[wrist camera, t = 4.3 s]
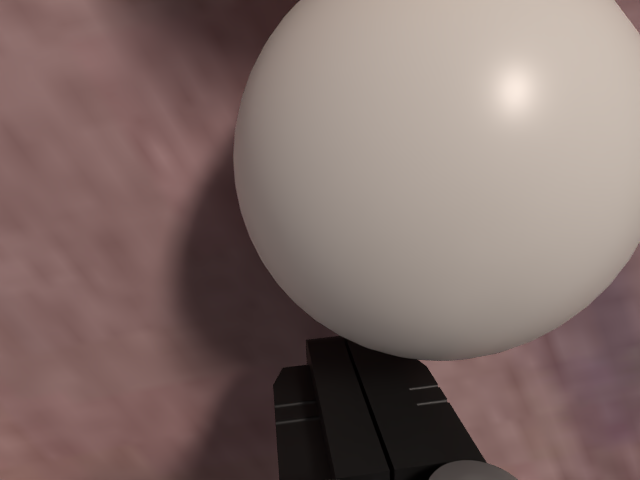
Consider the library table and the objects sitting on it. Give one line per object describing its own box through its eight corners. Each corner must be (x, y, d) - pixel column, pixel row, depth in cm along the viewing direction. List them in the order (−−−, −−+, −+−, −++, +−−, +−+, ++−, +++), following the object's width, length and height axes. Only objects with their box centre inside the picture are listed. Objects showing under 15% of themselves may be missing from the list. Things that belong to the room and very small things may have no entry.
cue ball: (722, 357, 7) (709, -44, 7) (535, 507, 3) (515, -406, 3) (404, 316, 11) (400, 75, 12) (166, 353, 8) (164, -10, 8)
